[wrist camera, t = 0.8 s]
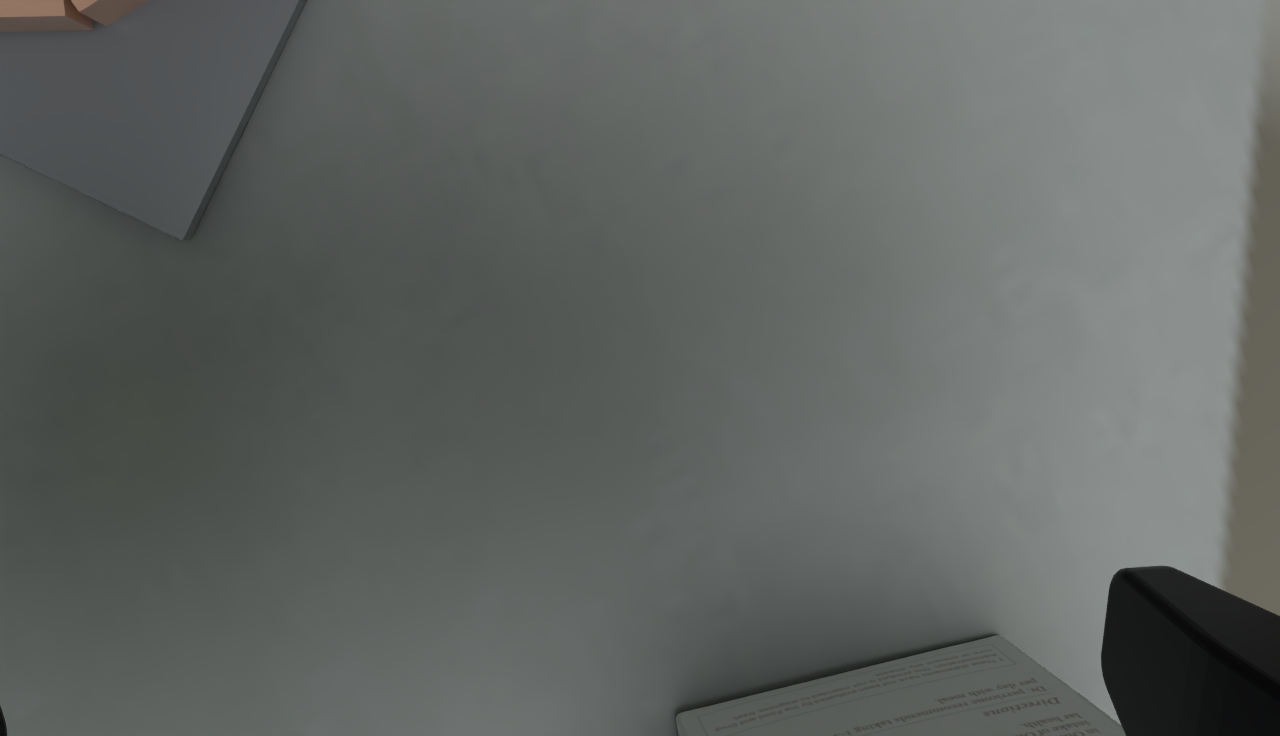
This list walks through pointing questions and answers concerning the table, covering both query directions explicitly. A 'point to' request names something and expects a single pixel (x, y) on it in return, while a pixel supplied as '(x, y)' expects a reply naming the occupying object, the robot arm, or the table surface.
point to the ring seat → (136, 95)
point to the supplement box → (916, 701)
